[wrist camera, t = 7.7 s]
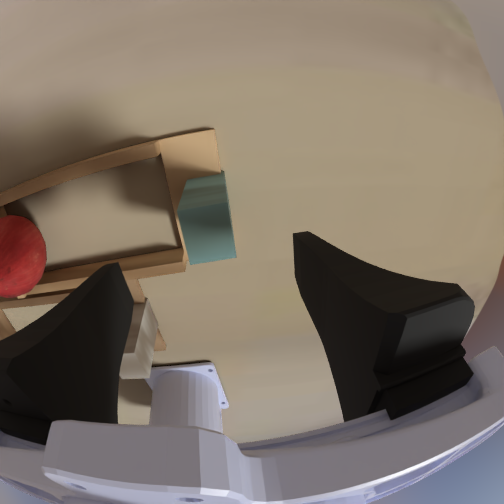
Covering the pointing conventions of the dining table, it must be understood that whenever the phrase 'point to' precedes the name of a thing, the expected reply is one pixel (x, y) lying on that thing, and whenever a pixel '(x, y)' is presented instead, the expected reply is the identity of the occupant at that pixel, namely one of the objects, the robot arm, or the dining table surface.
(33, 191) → the wooden divided tray
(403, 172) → the dining table surface
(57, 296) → the lane empty
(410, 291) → the robot arm
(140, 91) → the dining table surface
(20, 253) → the red round piece
